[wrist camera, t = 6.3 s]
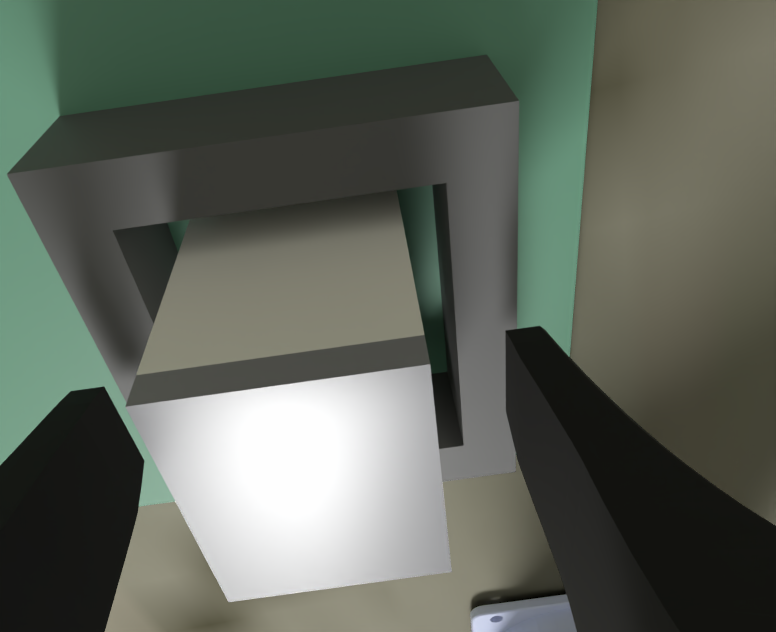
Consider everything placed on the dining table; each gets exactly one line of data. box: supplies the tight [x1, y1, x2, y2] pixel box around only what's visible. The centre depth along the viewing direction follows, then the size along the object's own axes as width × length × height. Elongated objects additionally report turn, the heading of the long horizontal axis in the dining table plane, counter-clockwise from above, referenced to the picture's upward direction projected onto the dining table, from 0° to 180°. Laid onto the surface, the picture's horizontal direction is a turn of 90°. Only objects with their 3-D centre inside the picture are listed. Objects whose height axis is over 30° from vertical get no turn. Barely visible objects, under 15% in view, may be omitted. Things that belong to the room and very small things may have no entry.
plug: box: [125, 190, 452, 602], centre depth 12 cm, size 4×5×6 cm
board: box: [0, 0, 598, 506], centre depth 14 cm, size 22×14×4 cm, turn 97°
